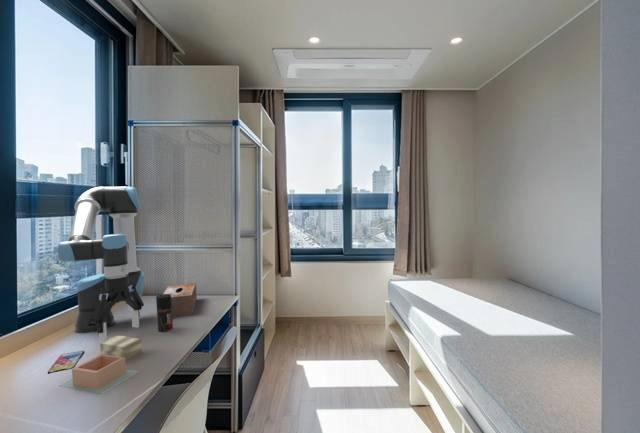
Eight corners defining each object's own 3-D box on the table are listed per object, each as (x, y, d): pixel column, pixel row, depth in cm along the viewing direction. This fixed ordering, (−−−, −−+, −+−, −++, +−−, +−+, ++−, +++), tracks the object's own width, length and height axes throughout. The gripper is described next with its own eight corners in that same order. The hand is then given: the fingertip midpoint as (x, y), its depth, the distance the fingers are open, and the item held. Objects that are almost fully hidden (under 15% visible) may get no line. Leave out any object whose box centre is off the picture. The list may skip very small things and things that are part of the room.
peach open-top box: (72, 384, 100) (71, 369, 100) (102, 368, 110) (101, 354, 109) (97, 389, 97) (96, 372, 97) (126, 372, 107) (125, 357, 106)
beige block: (101, 357, 119) (100, 343, 119) (119, 349, 125) (118, 335, 125) (124, 362, 115) (123, 347, 114) (142, 353, 121) (141, 339, 121)
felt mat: (58, 387, 100) (58, 385, 100) (98, 366, 112) (98, 364, 112) (103, 395, 95) (103, 393, 95) (139, 372, 107) (139, 371, 107)
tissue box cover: (169, 303, 183) (168, 285, 182) (196, 300, 187) (195, 283, 186) (160, 318, 158) (159, 298, 158) (192, 314, 162) (191, 295, 162)
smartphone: (85, 350, 124) (73, 367, 110) (85, 352, 124) (73, 370, 110) (61, 354, 121) (46, 373, 107) (61, 356, 121) (46, 375, 107)
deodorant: (167, 332, 140) (165, 298, 139) (154, 331, 141) (152, 297, 141) (175, 327, 146) (173, 294, 145) (164, 326, 147) (162, 293, 146)
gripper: (91, 285, 106) (95, 349, 106) (151, 269, 129) (154, 322, 130) (74, 284, 108) (79, 347, 108) (136, 269, 132) (139, 321, 132)
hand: (120, 333), depth 119 cm, fingers open, 13 cm apart
